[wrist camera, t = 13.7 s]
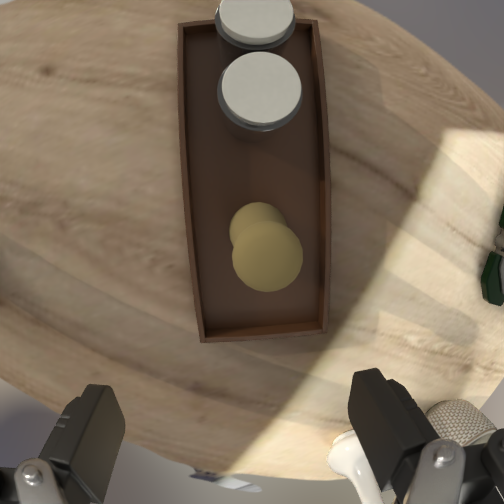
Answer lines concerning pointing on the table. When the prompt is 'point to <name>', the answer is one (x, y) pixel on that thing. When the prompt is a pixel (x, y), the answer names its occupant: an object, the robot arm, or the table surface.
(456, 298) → the table surface
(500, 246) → the flat green button pad
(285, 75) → the cylinder
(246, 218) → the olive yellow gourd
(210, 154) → the tray
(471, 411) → the planter
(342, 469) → the flower vase
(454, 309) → the table surface
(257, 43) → the black shaker
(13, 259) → the table surface
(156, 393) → the table surface
